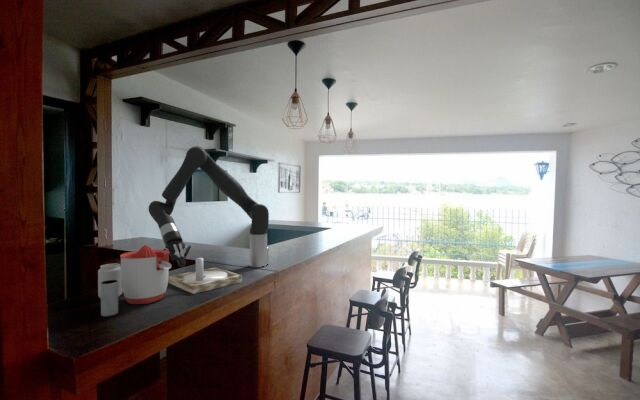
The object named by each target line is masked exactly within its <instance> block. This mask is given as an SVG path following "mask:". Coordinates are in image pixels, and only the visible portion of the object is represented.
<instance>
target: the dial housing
mask: <svg viewBox="0 0 640 400" xmlns="http://www.w3.org/2000/svg"><path fill="white" fill-rule="evenodd" d="M203 271H223V272H226V273H227V278H223V279H218V280H214V281H209V282H205V283H200V284H192V283H190V282H188V281H185V280H183V277H184V276H185V275H187V274H190V273H194V272H196V270H195V271H190V272H183V273H177V274H172V275H169V278H168V284H170V285H172V286H174V287H177V288H179V289H180V290H183V291H185V292H187V293H190V294H192V295H196V294H200V293H202V292H208V291H211V290H215V289H218V288H219V289H220V288H224V287H228V286H232V285H236V284H241V283H242V282H243V275H242V274H241V273H240V274H239V273H235V272H232V271H229V270H226V269H222V268H220V267H216V266H215V267H210V268H209V267H208V268H205V269H204V268H203Z"/></svg>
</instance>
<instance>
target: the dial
mask: <svg viewBox="0 0 640 400" xmlns="http://www.w3.org/2000/svg"><path fill="white" fill-rule="evenodd" d="M203 270H204V257H196V258H195V271H196V272H194V273H190V274H187V275H185V276H184V277H183V280H185V281H188V282H190V283H192V284H200V283H205V282H209V281H214V280H218V279H223V278H227V273H226V272H223V271H203Z"/></svg>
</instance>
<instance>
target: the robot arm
mask: <svg viewBox="0 0 640 400" xmlns="http://www.w3.org/2000/svg"><path fill="white" fill-rule="evenodd" d="M198 169H200V170H201V171H203V172H204V173H205V174H206V175H207V176H208V177H209V179H210V180H211V181H212V182H213V184H214V185H215V186H216V188H218V189H219V190H220V192H222V193H223V194H224V195H225V196H227V198H229V199H230V200H231V201H233V202H234V203H235V204H236V205H238V207H240V208H241V209H242V210H243V212H245V213H246V214H247V216H248V217H249V218H250V219H251V227H250V228H249V267H250V268H263V267H262V266H264V267H267V266H268V265H267V264H269V263H270V262H269V258H270V257H269V256H270V254H269V253H270V252H269V250H270V249H269V247H268V231H269V222H270V221H269V217H270V216H269V215H270V213H269V209H268V207H267V206H266V205H265V204H261V203H258V202H257V201H255V200H254V199H252V197H250V195H249V194H247V191H246V190H245V189H244V187H243V186H242V184H241V183H240V182H239V181H238V180H237V179H236V178H235V177H234V176H232V175H231V174H230V173H229V172H227V170H225V169H224V168H222V167H221V166H220V165H219V164H217V162H216V161H215V160H214V159H213V158H212V157H211V156H210V154H209V153H208V152H207V151H206V150H205V149H204V148H203V147H201V146H199V145H198V146H197V145H196V146H192V147H190V148H189V149H188V150H187V151H186V154H185V156H184V160H183V161H182V164H181V166H180V167H179V169H178V170H177V172H176V173H175V174H174V176H173V177H172V179H171V180H170V181H169V182H168V183H167V185H166V187H165V188H164V190H163V191H162V194H161V196H162V198H163V199H165V201H164V202H162V201H160V200H153V201H151V202H150V203H149V205H148V212H149V216H151V218H152V219H153V220H154V222H156V224H157V226H158V229H159V231H160V236H161V239H162V241H163V243H164V246H165V248H163V249H162V250H167V251H169V260H171V261H174V260H175V261H176V262H177V264H178V266H179V267H180V268H183V267H185V266H186V264H187V262H186V258H187V256H188V255H189V253H190V249H191V248H192V246H191V245H186V244H185V242H184V240H183V237H182V235H181V233H180V230H179V228H178V226H177V225H176V222H175V220H174V218H173V217H172V216H171V215H172V213H173V211H174V208H175V205H176V202H177V200H178V198H179V196H180V195H181V193H182V192H183V191H184V190H185V188H186V186H187V184H188V182H189V180H190V179H191V178H192V176H193V175H194V173H196V171H197V170H198ZM184 251H185V252H184ZM266 265H267V266H266ZM269 265H270V264H269Z"/></svg>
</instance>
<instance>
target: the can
mask: <svg viewBox="0 0 640 400" xmlns="http://www.w3.org/2000/svg"><path fill="white" fill-rule="evenodd" d="M99 267H100V268H99V269H98V270H97V294H98V295H97V296H98V298H99V299H101V282H103V281H107V280H118V298H119V297H120V296H121V295H122V294H124V293H123V290H122V286H121V263H115V262H114V263H107V264H102V265H100V266H99Z"/></svg>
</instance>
